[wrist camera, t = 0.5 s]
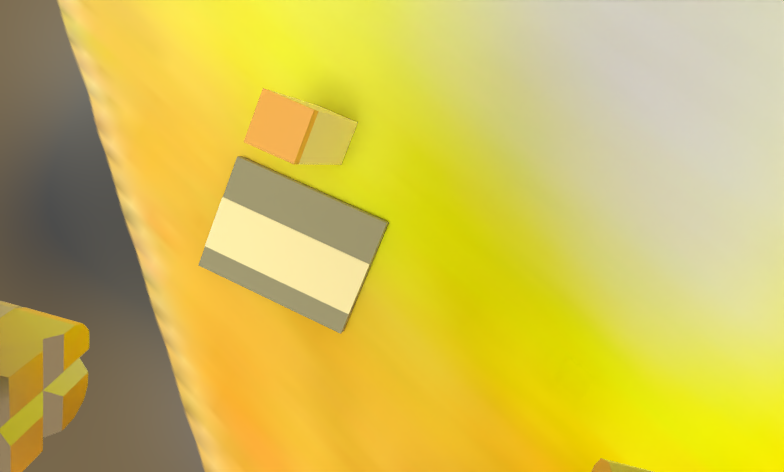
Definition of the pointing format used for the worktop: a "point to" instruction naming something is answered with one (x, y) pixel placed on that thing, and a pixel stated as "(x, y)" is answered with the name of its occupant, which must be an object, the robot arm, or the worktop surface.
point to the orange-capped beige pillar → (299, 130)
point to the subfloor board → (292, 243)
